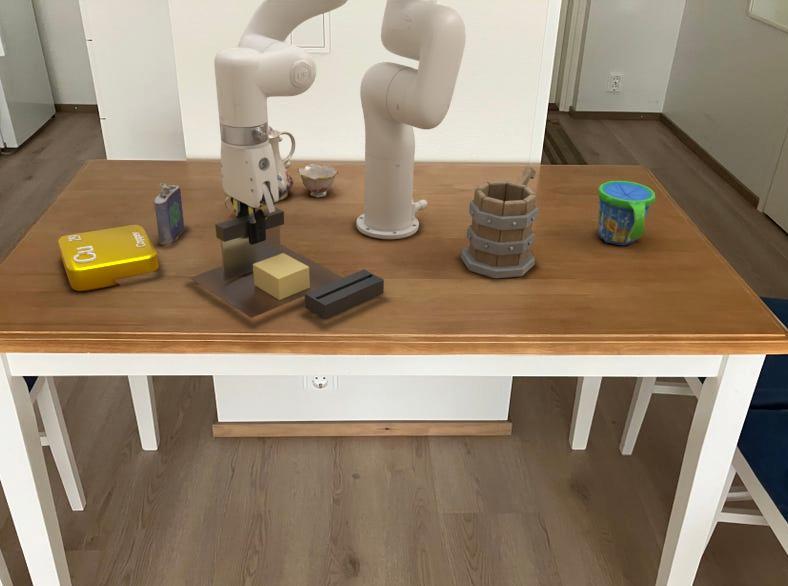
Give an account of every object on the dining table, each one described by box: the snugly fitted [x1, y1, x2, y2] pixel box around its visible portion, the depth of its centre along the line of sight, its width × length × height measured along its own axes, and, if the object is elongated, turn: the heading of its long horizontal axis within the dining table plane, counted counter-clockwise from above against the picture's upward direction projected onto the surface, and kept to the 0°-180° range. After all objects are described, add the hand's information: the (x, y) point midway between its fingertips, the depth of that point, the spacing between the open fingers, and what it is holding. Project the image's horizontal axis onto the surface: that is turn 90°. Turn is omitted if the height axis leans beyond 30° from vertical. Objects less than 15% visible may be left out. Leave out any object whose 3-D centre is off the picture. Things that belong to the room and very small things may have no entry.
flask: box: [153, 183, 186, 247], centre depth 147 cm, size 9×3×11 cm, turn 172°
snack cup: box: [597, 180, 656, 246], centre depth 152 cm, size 16×11×10 cm
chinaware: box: [224, 125, 339, 212], centre depth 163 cm, size 28×17×17 cm, turn 139°
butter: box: [253, 253, 310, 300], centre depth 131 cm, size 6×7×4 cm
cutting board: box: [189, 244, 344, 319], centre depth 135 cm, size 20×18×2 cm
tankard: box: [460, 165, 539, 279], centre depth 143 cm, size 20×13×15 cm, turn 147°
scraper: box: [214, 206, 285, 280], centre depth 133 cm, size 12×2×10 cm, turn 134°
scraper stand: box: [304, 268, 385, 320], centre depth 128 cm, size 13×5×4 cm, turn 134°
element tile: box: [57, 224, 160, 292], centre depth 138 cm, size 15×15×5 cm
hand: (251, 238), depth 133 cm, fingers closed on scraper, 2 cm apart
